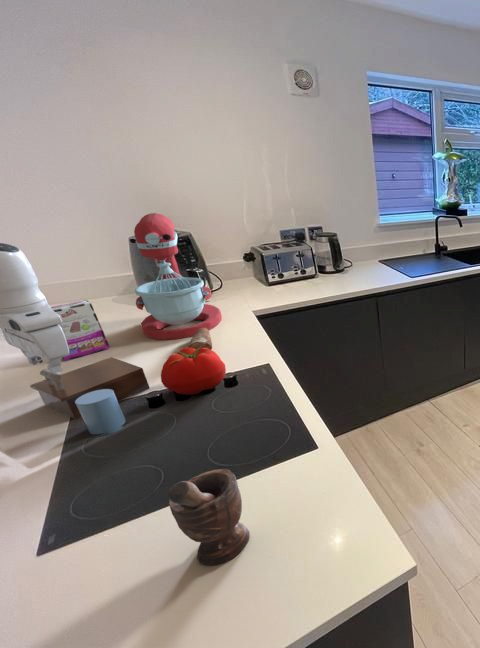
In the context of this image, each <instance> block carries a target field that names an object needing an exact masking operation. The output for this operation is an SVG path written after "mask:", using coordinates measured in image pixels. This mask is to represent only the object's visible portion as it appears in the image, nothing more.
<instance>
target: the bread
mask: <svg viewBox="0 0 480 648" xmlns="http://www.w3.org/2000/svg"><path fill="white" fill-rule="evenodd" d="M187 347H189V348H194V349H198V348H199V349H200V347H201V348H208V349H210V350H212V349H213V342H212V336H211V333H210V330H208V329H206V328H200V329H198V330H197V331H196V332H195V334H194V335H193V336H191V339H190V341H189V343H188V345H187Z"/></svg>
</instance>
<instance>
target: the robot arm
mask: <svg viewBox="0 0 480 648" xmlns="http://www.w3.org/2000/svg"><path fill="white" fill-rule="evenodd" d="M51 307H52V306H51V305H50V304H49V302H48V300H47V297H46V295H45V294H44V293H43V292H42V291H41V289H40V288H39V279H38V276H37V274H36V272H35V270H34V267H33V266H32V264H31V263H30V261H29V259H28V258H27V255H26V254H25V253H24V252H23V251H22V250H21V249H20V248H19V247H17V246H15V245H12V244H8V243H3V242H0V331H1V333H2V335H3V338H4V340H5V341H6V343H7V344H8V345H10V346H11V347H14V348H17V349H18V350H20V352H21V353H22V354H23V355H24V356H25V358H26V359H27V361H28V363H29V364H32V365H34V366H36V365H39V364H42V363H43V360H45V362H46V363H47V370H49V371H50V372H52V373H57V374H59V373H61V372H63V371H64V369H63V366H62V358H63V357H66V356H68V355H69V347H68V344H67V341H66V338H65V335H64V332H63V330H62V328H61V327H60V326H59V325H58V324H61V323H62V320H61V317H60V316H59V315H58V314H57V313H56V312H54V311H53V310H52V309H51Z"/></svg>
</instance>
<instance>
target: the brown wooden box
mask: <svg viewBox="0 0 480 648" xmlns="http://www.w3.org/2000/svg"><path fill="white" fill-rule="evenodd" d="M102 389H111V390H113V391H114V393H115V396H116V398H117V400H118V402H121V401H123V400H125V399H128V398H130V397H132V396H135V395H137V394H140V393H142V392H145V391H147V390H149V389H151V388H150V385H149V382H148V379H147V376H146V374H145V371H144V370H143V371H141V372H138V373H136V374H133V375H131V376H128V377H125V378H123V379H120V380H118V381H115V382H112V383H110V384H107V385H105V386H102V387H100V388H97V389H94V390H92V391H89V392H93V391H96V390H102ZM37 392H38V394H39V396H40V398H41V400H42V403H43V404H44V405H45V406H46V407H49V408H50V409H53V410H55V411H57V412H58V413H61V414H63V415H64V416H67V417H69V418H71V419H73V420H78V419H81V418H82V416H81V414H80V412H79V410H78V408H77V406H76V404H75V401H76V399H78V398H79V397H80V396H82V395H84V394H87V393H89V392H87V393H84V394H81V395H79V396H76V397H74V398H71V399H69V400H66V401H63V402H60V401H58V400H56V399H54V398H52V397H50V396H47V395H45V394H43V393H41V392H39V391H37Z"/></svg>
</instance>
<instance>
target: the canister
mask: <svg viewBox="0 0 480 648" xmlns="http://www.w3.org/2000/svg"><path fill="white" fill-rule="evenodd" d="M75 404H76V406H77V408H78V410H79V412H80V414H81V416H82V417H81V418H82V421H83V423H84V425H85V427H86V429H87V431H88V433H89V434H91V435H100V436H98V437H99V438H101V437H106V436H109V435H112V434H115V433H117V432H119V431H121V430H123V428H125V427H126V426H127V423H126V421H127V419H126V417H125V415H124V413H123V410H122V408H121V405H120V403H119V401H118V400H117V398H116V396H115V393H114V391H113V390H111V389H102V390H96V391H93V392H89V393H87V394H84V395H82V396H80V397H79V398H78V399H76V401H75Z"/></svg>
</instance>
